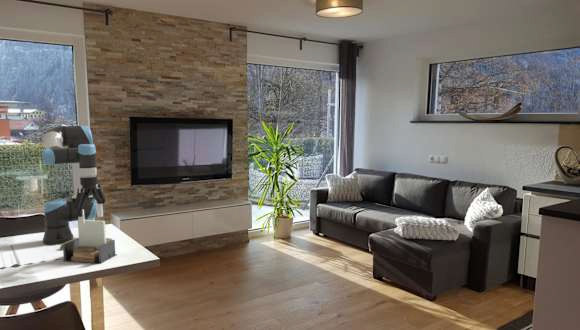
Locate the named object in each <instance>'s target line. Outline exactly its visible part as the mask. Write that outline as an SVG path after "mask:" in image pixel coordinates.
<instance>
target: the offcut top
mask: <svg viewBox="0 0 580 330" xmlns="http://www.w3.org/2000/svg"><path fill="white" fill-rule="evenodd" d="M95 251H96V247H90V246H78V247H76V248H74V249H73V253H85V254H91V253H93V252H95Z"/></svg>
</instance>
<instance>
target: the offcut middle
mask: <svg viewBox="0 0 580 330" xmlns="http://www.w3.org/2000/svg"><path fill="white" fill-rule="evenodd" d="M98 256H99V251H95V252H93V253H91V254H85V253H73V257H82V258H96V257H98Z"/></svg>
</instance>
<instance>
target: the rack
mask: <svg viewBox="0 0 580 330" xmlns="http://www.w3.org/2000/svg"><path fill="white" fill-rule="evenodd" d="M76 238H77V239H75V238H74V239H75V240H72V241H70V242H67V243H65V244H63V250H62V252H63V253H62V254H63V260H62V262H65V263H76V264H77V263H78V264H79V263H80V264H94V265H101V264H103V263H105V262H107V261H108V260H111V259H112V258H114V257H116V256H118V255H119V254H117V253H116V240H115V239H112V240H111V241H109V242H107V243H105V244H103V245H101V246H99V247H98V248H99V260H98V261H96V262H94V263H92V262H78V261H72V260H71V257H72V256H73V249H74V248H76V247H78V246H79V237H76Z"/></svg>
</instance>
